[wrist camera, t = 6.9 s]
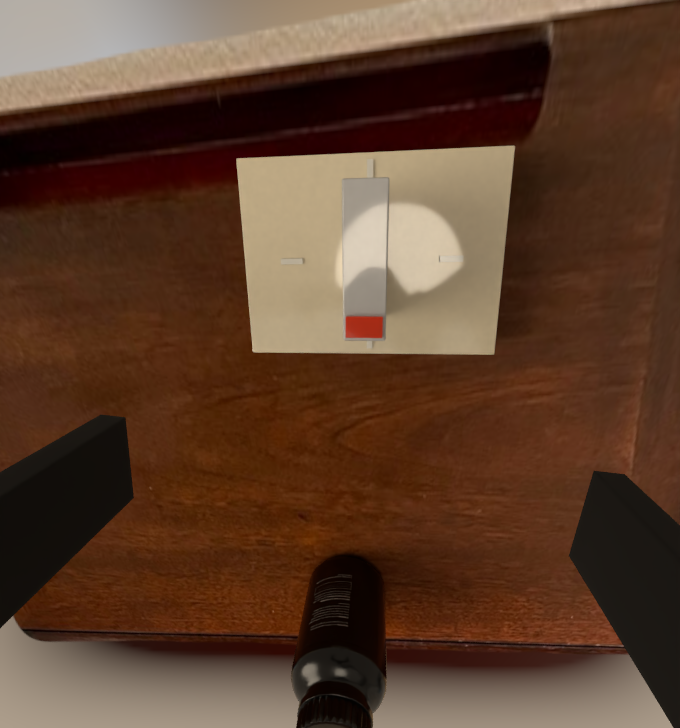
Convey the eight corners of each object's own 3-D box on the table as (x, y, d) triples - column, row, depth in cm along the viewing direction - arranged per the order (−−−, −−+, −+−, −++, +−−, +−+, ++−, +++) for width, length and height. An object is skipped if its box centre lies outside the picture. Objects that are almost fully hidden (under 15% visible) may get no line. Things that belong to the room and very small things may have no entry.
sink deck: (499, 157, 24) (516, 144, 21) (482, 344, 27) (495, 355, 24) (252, 168, 26) (234, 157, 23) (265, 342, 29) (251, 353, 26)
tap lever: (353, 199, 23) (340, 177, 16) (387, 198, 23) (389, 175, 16) (353, 316, 25) (342, 342, 18) (384, 316, 25) (385, 342, 18)
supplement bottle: (302, 599, 36) (265, 762, 24) (321, 543, 34) (290, 693, 22) (372, 621, 36) (367, 796, 24) (395, 567, 34) (402, 729, 22)
